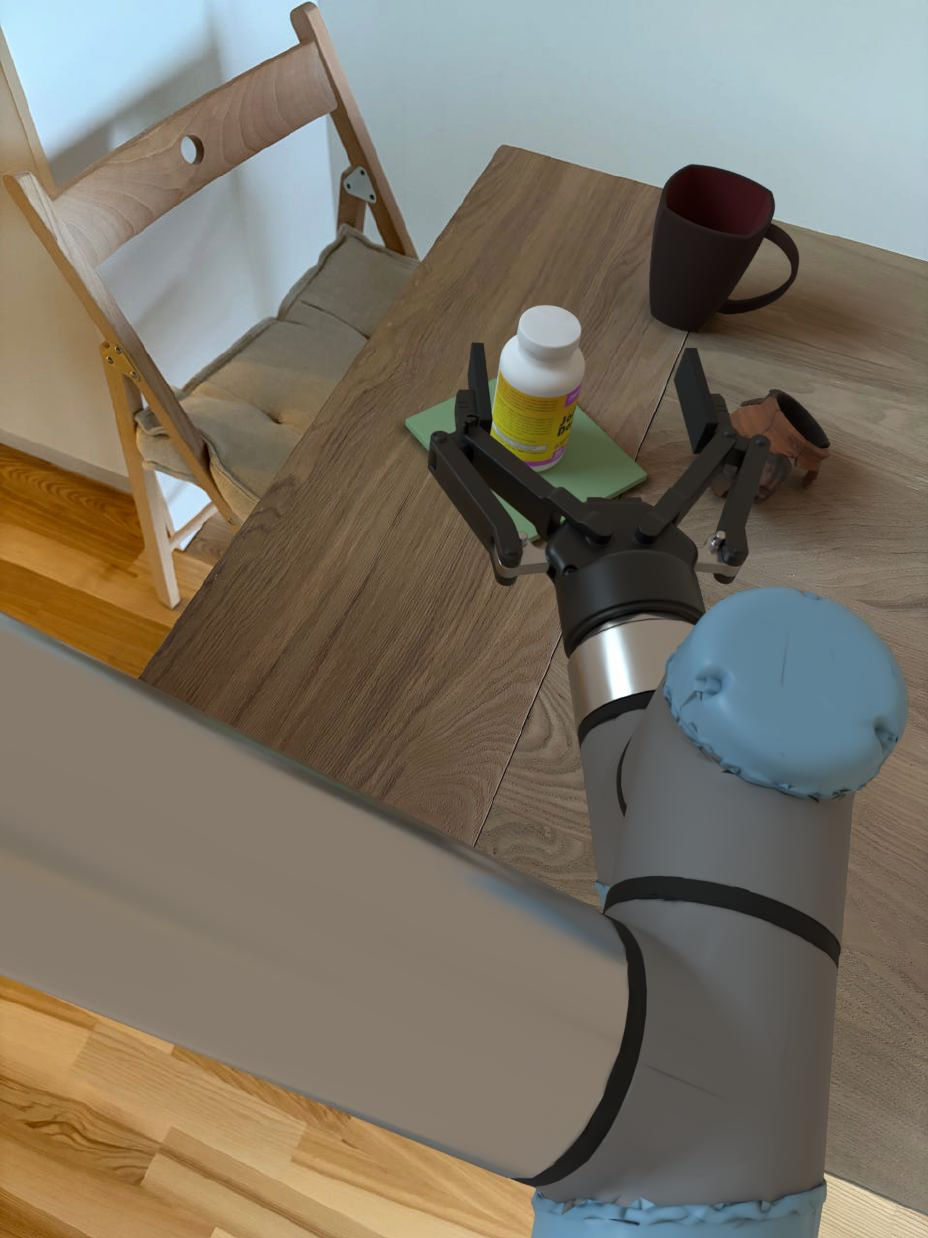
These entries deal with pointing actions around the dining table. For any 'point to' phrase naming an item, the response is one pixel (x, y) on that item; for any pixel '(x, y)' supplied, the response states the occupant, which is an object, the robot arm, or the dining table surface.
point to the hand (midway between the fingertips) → (581, 361)
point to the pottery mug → (778, 442)
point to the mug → (710, 245)
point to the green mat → (582, 469)
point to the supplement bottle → (539, 386)
